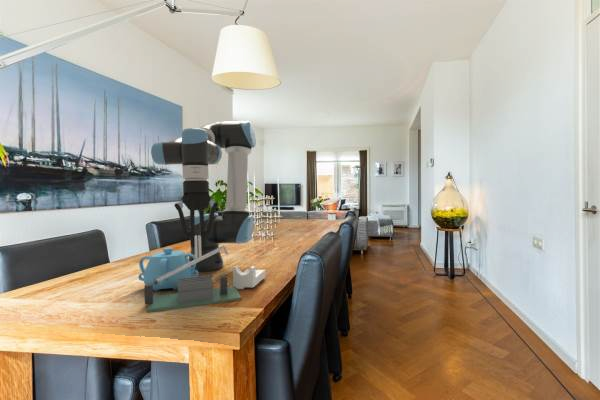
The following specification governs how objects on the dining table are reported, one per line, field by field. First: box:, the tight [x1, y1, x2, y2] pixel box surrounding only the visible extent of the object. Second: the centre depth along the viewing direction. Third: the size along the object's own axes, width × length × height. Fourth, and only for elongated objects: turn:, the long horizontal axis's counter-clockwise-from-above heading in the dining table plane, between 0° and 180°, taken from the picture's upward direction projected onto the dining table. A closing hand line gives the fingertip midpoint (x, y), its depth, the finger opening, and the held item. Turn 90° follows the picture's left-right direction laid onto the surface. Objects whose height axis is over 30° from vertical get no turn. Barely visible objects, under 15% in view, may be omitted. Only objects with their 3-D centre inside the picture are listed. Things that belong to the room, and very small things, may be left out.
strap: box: [153, 244, 229, 284], centre depth 100 cm, size 3×23×3 cm, turn 110°
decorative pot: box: [138, 247, 199, 292], centre depth 114 cm, size 16×16×14 cm
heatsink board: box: [144, 274, 242, 313], centre depth 100 cm, size 12×27×6 cm, turn 111°
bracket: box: [232, 264, 266, 290], centre depth 116 cm, size 13×7×8 cm, turn 168°
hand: (198, 257), depth 100 cm, fingers closed
